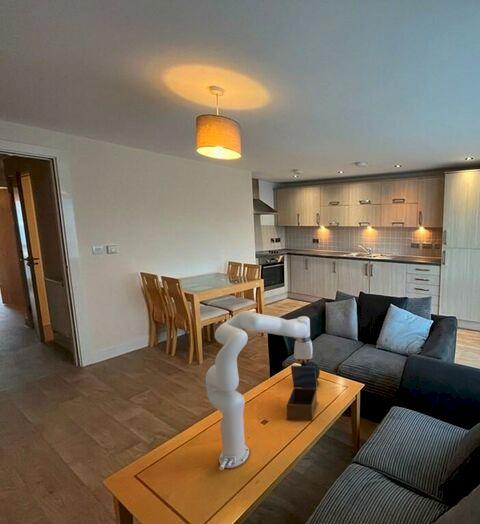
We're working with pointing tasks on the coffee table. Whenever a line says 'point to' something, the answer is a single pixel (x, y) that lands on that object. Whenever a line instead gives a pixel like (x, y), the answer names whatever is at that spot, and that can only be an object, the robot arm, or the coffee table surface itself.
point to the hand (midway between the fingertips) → (304, 368)
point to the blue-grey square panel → (304, 376)
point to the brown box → (302, 404)
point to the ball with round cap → (315, 370)
